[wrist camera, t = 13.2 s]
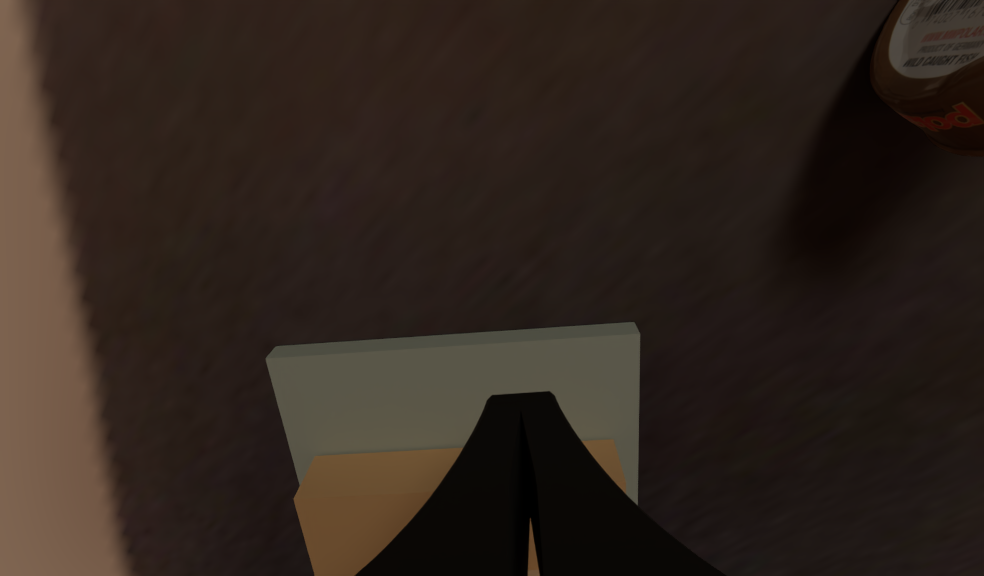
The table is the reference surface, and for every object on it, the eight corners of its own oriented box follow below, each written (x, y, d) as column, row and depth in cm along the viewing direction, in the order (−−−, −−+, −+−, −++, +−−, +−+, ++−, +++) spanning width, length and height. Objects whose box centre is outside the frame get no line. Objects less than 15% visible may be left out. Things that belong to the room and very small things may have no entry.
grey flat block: (631, 611, 26) (648, 686, 23) (347, 622, 27) (326, 697, 24) (633, 322, 21) (657, 368, 17) (275, 346, 22) (234, 395, 18)
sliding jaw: (613, 517, 23) (625, 565, 21) (333, 531, 24) (316, 579, 21) (613, 439, 21) (625, 481, 19) (315, 456, 22) (293, 499, 20)
